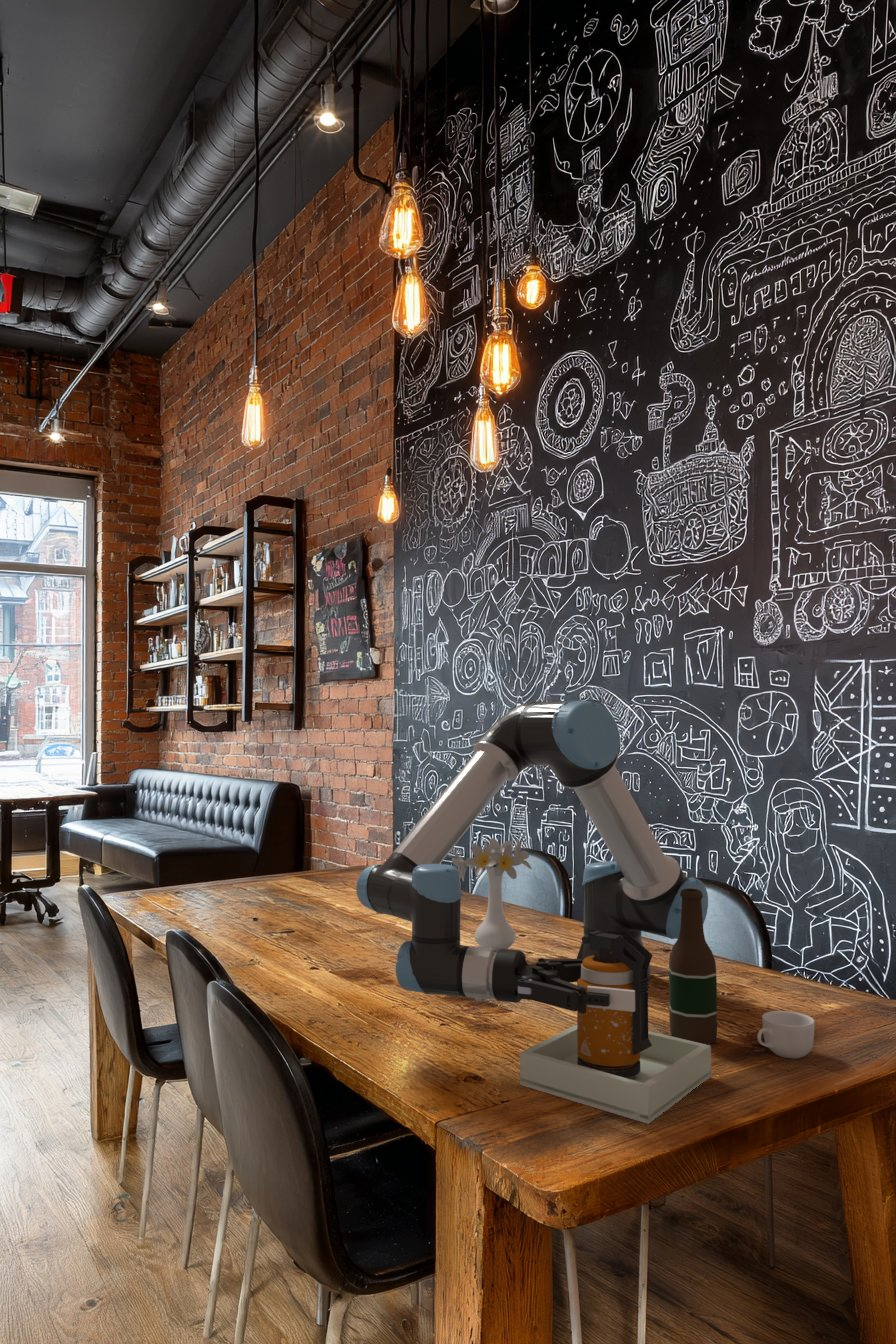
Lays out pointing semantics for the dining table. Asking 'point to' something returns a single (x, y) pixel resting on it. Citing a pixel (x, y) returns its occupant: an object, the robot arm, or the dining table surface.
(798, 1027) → the teacup
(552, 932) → the dining table surface
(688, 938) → the beer bottle
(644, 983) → the canister
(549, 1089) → the tray
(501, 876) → the flower vase
